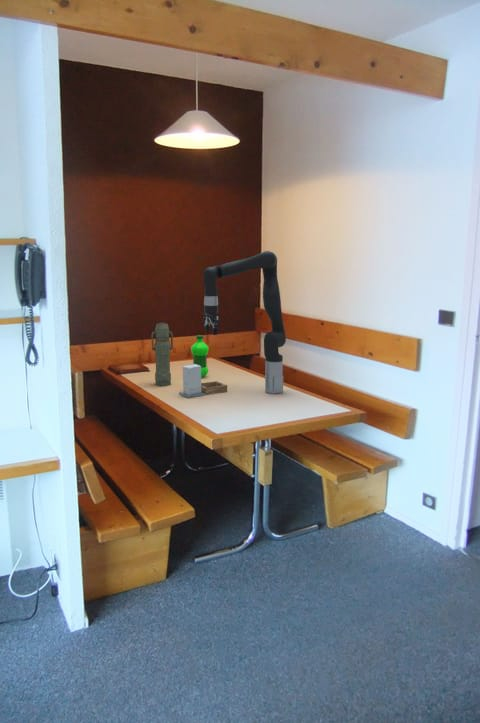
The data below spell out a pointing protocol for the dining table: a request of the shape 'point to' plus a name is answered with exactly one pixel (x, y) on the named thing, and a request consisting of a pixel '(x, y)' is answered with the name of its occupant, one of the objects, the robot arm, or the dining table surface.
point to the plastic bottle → (200, 354)
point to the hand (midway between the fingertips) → (211, 333)
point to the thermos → (162, 354)
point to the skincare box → (191, 379)
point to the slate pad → (191, 395)
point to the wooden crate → (213, 387)
